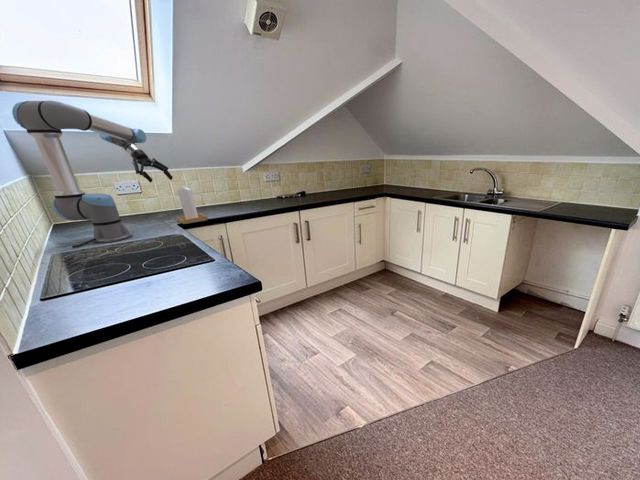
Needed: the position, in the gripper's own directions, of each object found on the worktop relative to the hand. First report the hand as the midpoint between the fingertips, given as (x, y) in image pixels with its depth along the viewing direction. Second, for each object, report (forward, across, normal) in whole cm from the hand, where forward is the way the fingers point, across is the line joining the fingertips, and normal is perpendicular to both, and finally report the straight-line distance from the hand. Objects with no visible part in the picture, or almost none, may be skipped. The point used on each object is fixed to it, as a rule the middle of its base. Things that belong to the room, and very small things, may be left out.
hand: (161, 179), depth 187 cm
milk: (+28, -3, -8) cm, 29 cm away
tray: (+28, -3, -8) cm, 29 cm away
